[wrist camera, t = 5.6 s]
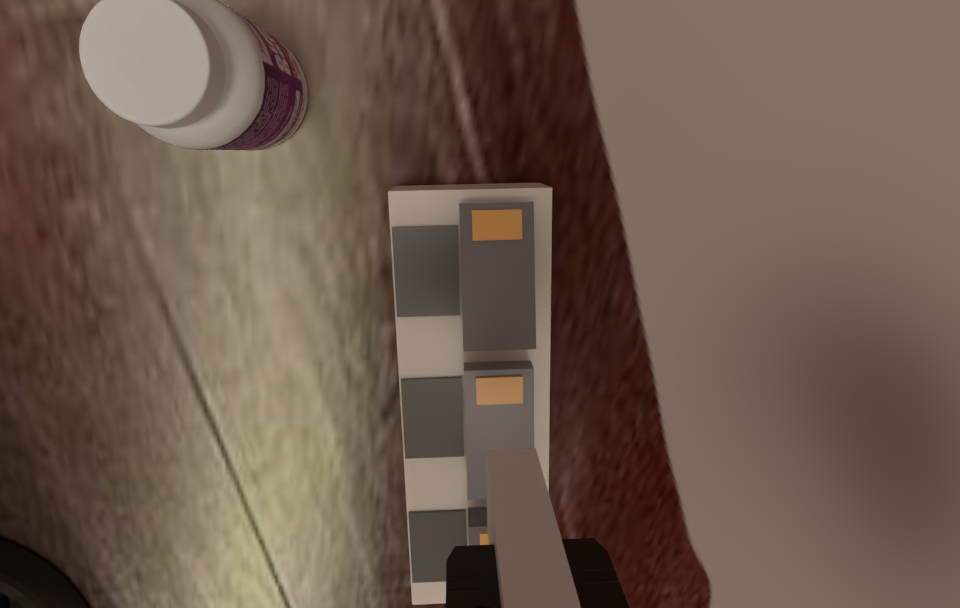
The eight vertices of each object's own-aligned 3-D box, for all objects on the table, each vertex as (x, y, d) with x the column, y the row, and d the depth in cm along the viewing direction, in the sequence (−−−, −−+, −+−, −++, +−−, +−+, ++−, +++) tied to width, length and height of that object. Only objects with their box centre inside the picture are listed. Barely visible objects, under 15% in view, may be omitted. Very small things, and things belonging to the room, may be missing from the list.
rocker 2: (463, 346, 25) (463, 351, 24) (459, 205, 25) (459, 203, 23) (532, 344, 25) (536, 349, 24) (530, 204, 25) (533, 201, 23)
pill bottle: (327, 61, 27) (259, 14, 18) (287, 168, 28) (203, 177, 19) (214, 7, 26) (80, -72, 17) (178, 119, 27) (33, 102, 18)
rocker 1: (470, 597, 30) (470, 621, 28) (467, 507, 27) (468, 529, 26) (529, 594, 30) (532, 618, 28) (532, 504, 27) (535, 526, 26)
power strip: (417, 552, 34) (411, 615, 29) (397, 185, 28) (385, 192, 24) (537, 547, 34) (549, 608, 30) (539, 182, 29) (554, 188, 24)
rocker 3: (467, 485, 27) (467, 501, 26) (463, 362, 26) (463, 371, 25) (531, 483, 27) (534, 498, 26) (530, 360, 26) (534, 369, 25)
